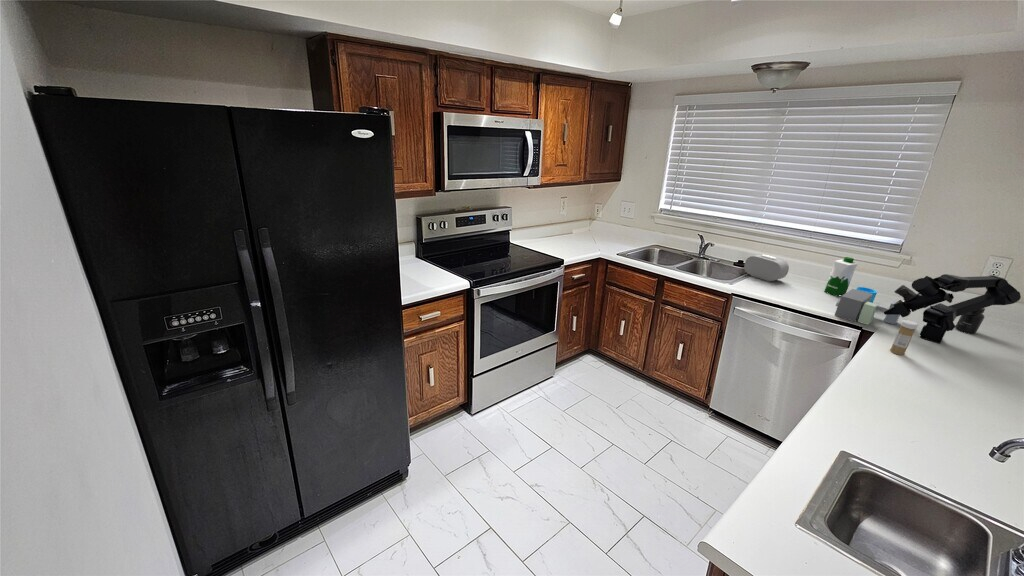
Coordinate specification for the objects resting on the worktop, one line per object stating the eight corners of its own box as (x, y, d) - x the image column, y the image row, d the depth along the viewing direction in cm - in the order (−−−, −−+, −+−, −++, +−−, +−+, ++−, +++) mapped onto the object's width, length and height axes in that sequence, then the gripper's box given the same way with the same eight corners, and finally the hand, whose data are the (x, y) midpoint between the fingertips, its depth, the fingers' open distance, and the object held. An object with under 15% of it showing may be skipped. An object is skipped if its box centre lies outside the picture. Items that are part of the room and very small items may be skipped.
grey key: (897, 321, 192) (904, 304, 189) (894, 324, 189) (902, 306, 186) (855, 309, 203) (861, 293, 200) (852, 312, 201) (858, 295, 197)
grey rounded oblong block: (785, 282, 239) (792, 260, 234) (776, 284, 234) (783, 262, 230) (750, 271, 255) (756, 250, 251) (742, 273, 251) (747, 252, 246)
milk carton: (847, 295, 223) (861, 260, 216) (838, 297, 220) (851, 261, 212) (830, 289, 231) (842, 255, 223) (821, 291, 227) (833, 256, 220)
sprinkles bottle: (906, 353, 163) (919, 323, 158) (902, 356, 161) (916, 325, 156) (891, 348, 167) (904, 318, 162) (887, 351, 164) (900, 321, 159)
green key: (871, 322, 190) (878, 304, 187) (868, 324, 187) (875, 306, 184) (835, 311, 200) (841, 294, 197) (831, 313, 197) (838, 296, 194)
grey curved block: (865, 312, 201) (873, 293, 197) (854, 321, 190) (862, 301, 187) (845, 307, 207) (852, 288, 203) (834, 315, 196) (841, 296, 192)
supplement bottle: (958, 331, 185) (970, 307, 181) (951, 326, 191) (963, 302, 187) (979, 335, 182) (991, 311, 178) (971, 330, 188) (984, 306, 184)
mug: (871, 309, 206) (877, 294, 203) (851, 304, 210) (857, 290, 208) (870, 302, 215) (875, 287, 212) (850, 298, 220) (856, 283, 217)
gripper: (920, 278, 179) (879, 293, 192) (908, 285, 169) (866, 301, 181) (937, 301, 176) (894, 315, 189) (926, 310, 166) (882, 324, 178)
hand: (884, 313), depth 184 cm, fingers closed
